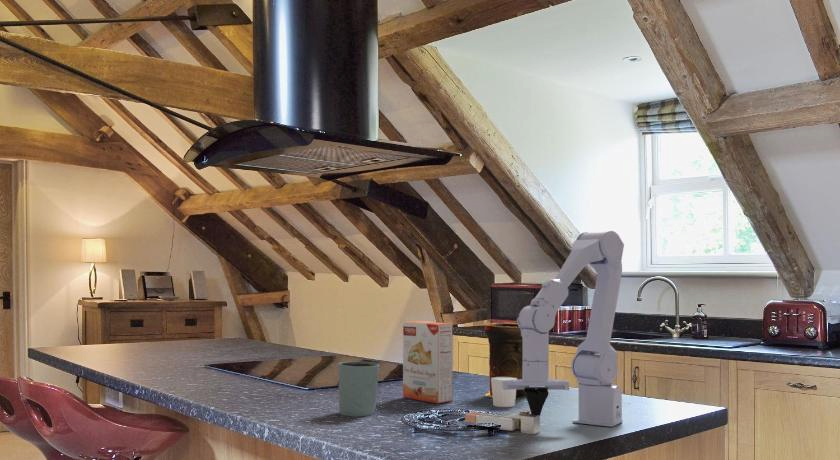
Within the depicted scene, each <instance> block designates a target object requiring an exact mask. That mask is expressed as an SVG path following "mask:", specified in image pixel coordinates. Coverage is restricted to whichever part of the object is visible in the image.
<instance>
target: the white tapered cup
mask: <svg viewBox="0 0 840 460" xmlns="http://www.w3.org/2000/svg"><path fill="white" fill-rule="evenodd" d="M502 380H517V378H513V377H493V378H491V384H492V395H493V397H492V405H493V406H494V407H499V408H511V407H515V406H516V399H515V398H516V389H508V390H503V389H502Z"/></svg>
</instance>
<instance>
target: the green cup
mask: <svg viewBox="0 0 840 460" xmlns="http://www.w3.org/2000/svg"><path fill="white" fill-rule="evenodd" d="M337 367H338V368H337V369H338V371H337V372H338V396H339V401H338V403H339V406H338V407H339V414H340V415H341V416H345V417H346V416H347V417H367V416H368V417H369V416H373V415H375V413H376V404H377V396H378V384H379V383H378V382H379V375H380V373H379V372H380V363H377V362H372V361H342V362H339V363H338V364H337Z"/></svg>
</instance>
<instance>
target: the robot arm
mask: <svg viewBox="0 0 840 460" xmlns="http://www.w3.org/2000/svg"><path fill="white" fill-rule="evenodd" d="M624 246H625V244H624V242H623V240H622V238H621V237H620V235H619V234H618V232H616V231H613V230H607V231H596V232H593V231H592V232H588V231H586V232H583V231H582V232H580V234H579V235H578V236H576V240H574V242H572V247H571V248H572V250H571V252H570V253H569V255H568V256H567V258H566V260H565V261H564V263H563V265H562V267H561V268H560V270H559V271H558V273H557V275H556V276H555V278H551V279H547V280H546V281H544V282H543V283H542V284H541V287H542V288H541V289H540V290H539V292H538V293H537V294H536V295H535V297H534V298H532V299H531V301H530V303H529V305H526V306H524V307H523V308H522V309H521V310H520V311H519V313H518V317H517V318H516V322H517V324H518V326H519V328H520V329H521V336H522V338H523V379H517V380H502V389H503V390H508V389H523V392H524V394H525V396H526V401H527V405H528V407H529V411H530V414H535V415H540V416H541V413H542V410H543V407H544V405H545V402H546V400H547V398H548V396H549V390H550V391H551V390H553V391H555V390H561V391H562V390H564V391H570V380H564V379H561V380H560V379H550V377H549V372H550V369H549V367H550V365H549V364H550V362H549V361H550V359H549V356H550V355H549V354H550V353H549V349H550V347H549V344H550V343H549V340H550V339H549V338H550V335H549V333H550V332H549V331H551V330H552V329H553V328H554V326H555V323H556V316H557V313H558V311H559V309H560V308H561V306H562V305H563V303H564V302H565V301H566V300H567V298H568V296H569V294H570V293H569V288H568V287H570V285H571V283H573V281H574V280H575V279H576V278H577V277H578V276H579V274H580V273H581V271H582V270H584V268H585V267H586V265H587V264H588V265H589V266H590V267H591V268H592V269H593V270H594V271H595V273H596V274H597V276H596V281H595V288H594V292H593V297H592V303H591V311H590V316H589V320H588V326H587V331H586V338H585V339H584V340H583V341H582V342H581V343H580V344H579V345H578V346H577V348H576V353H575V355H574V356H573V357H572V360H571V365H570V366H571V367H570V368H571V373H572V375H573V377H575V378H576V383H578V391H577V392H578V417H577V418H575V419H573V420H572V423H573V424H574V423H575V424H582V425H583V424H585V425H590V426H591V425H593V426H601V427H611V428H612V427H615V426H617V425H618V424H620V423H623V422H624V421H623V416H622V415H623V412H622V411H623V407H622V403H623V397H622V395H623V394H622V389H621V387H620V386H619V385H613V383H614V382H613V381H615V379H616V378H617V376H618V372H619V371H618V369H619V368H618V361H617V357H618V352H617V351H616V349H615V348H614V346H612V345H611V340H612V339H611V338H612V333H613V329H614V328H613V327H614V321H615V317H616V316H615V315H616V309H617V304H618V298H619V293H620V285H621V280H622V274H623V264H622V260H623V252H624V249H625V247H624ZM522 386H523V387H522ZM528 386H529V387H528Z"/></svg>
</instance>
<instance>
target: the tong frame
mask: <svg viewBox="0 0 840 460" xmlns="http://www.w3.org/2000/svg"><path fill="white" fill-rule="evenodd" d="M509 415H510V417H511V418H519V419H521V428H520V433H521V434H528V435H535V434H538V433H540V432H541V414H540V415H535V414H531V413H530V414H528V413H527V412H515V413H512V414H509ZM511 418H502V417H493V416H485V415H477V414H470V413H466V414H464V422H465V421H466V422H473V423H494V424H500V425H501V428H500V429H499V430H502V431H512V432H513V431H515V429H514V419H511Z"/></svg>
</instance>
